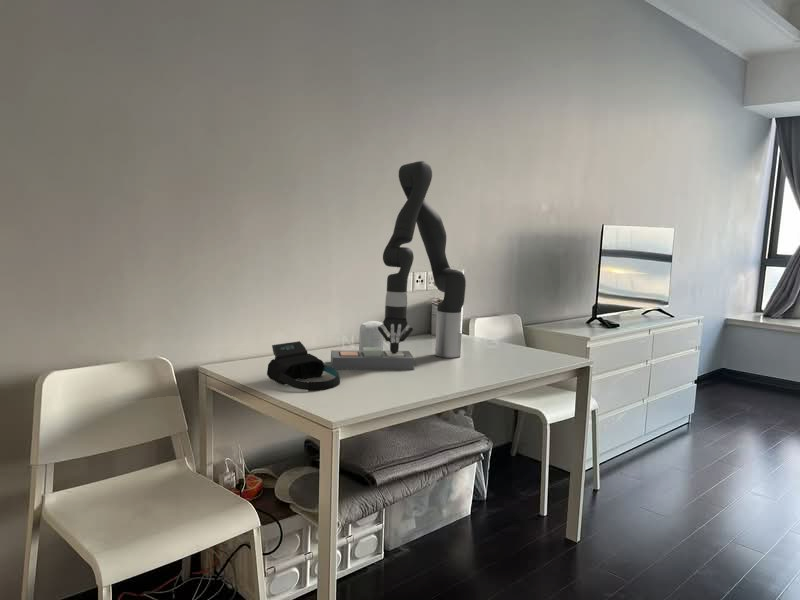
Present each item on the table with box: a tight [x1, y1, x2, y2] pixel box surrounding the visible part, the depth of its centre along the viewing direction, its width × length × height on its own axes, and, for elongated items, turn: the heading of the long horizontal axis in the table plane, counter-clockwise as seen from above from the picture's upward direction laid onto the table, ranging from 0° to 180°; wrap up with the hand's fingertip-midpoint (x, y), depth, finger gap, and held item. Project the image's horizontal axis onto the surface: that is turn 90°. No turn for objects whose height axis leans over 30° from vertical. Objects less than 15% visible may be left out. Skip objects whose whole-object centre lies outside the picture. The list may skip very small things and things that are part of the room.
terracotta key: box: [340, 352, 359, 356], centre depth 219 cm, size 6×6×3 cm
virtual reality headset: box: [266, 340, 341, 392], centre depth 194 cm, size 19×22×10 cm
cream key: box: [384, 350, 404, 357], centre depth 221 cm, size 6×6×3 cm
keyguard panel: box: [330, 349, 415, 371], centre depth 220 cm, size 28×12×4 cm, turn 99°
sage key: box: [363, 347, 382, 356], centre depth 220 cm, size 6×6×3 cm
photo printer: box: [358, 320, 384, 351], centre depth 240 cm, size 10×4×12 cm, turn 134°
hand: (394, 353), depth 221 cm, fingers closed
